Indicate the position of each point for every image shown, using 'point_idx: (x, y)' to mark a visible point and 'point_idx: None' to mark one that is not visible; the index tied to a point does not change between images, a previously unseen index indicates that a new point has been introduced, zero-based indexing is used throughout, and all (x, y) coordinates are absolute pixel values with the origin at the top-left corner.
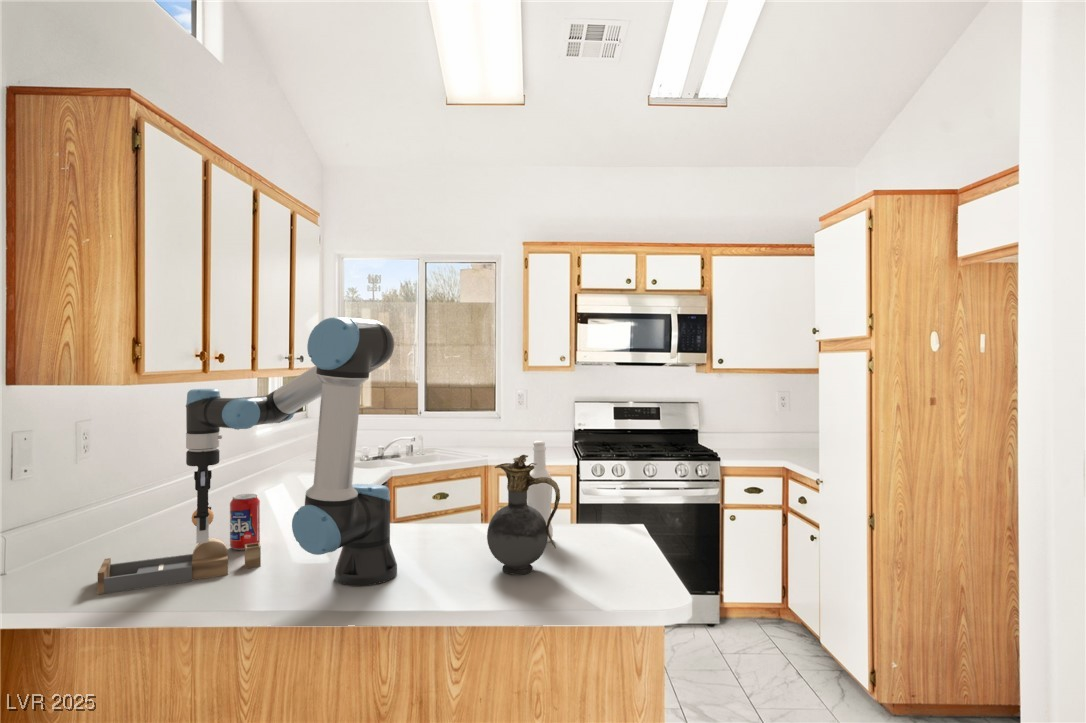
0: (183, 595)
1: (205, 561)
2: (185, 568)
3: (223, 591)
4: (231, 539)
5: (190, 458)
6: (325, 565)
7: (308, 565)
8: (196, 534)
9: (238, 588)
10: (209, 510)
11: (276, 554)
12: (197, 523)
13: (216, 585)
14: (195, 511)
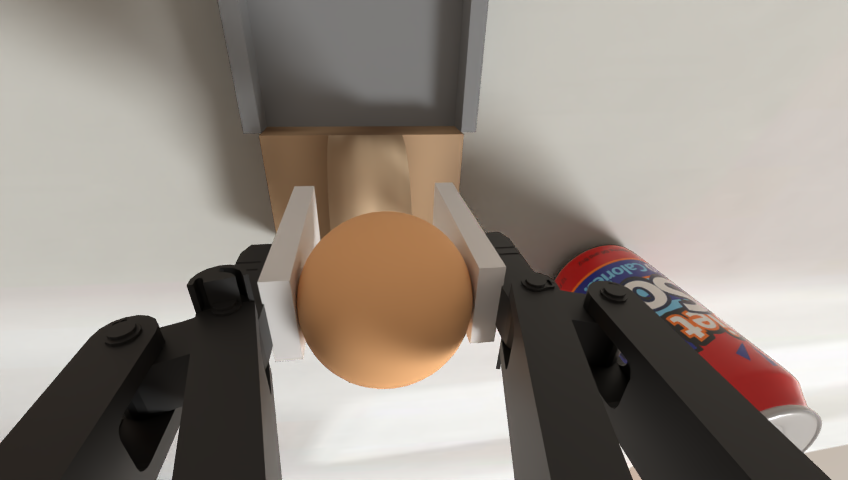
0: (48, 87)
1: (278, 194)
2: (239, 102)
3: (81, 235)
4: (605, 266)
5: None
6: (283, 458)
7: (300, 428)
8: (285, 210)
9: (110, 279)
10: (365, 386)
11: (454, 359)
12: (269, 258)
13: (168, 210)
14: (368, 290)
